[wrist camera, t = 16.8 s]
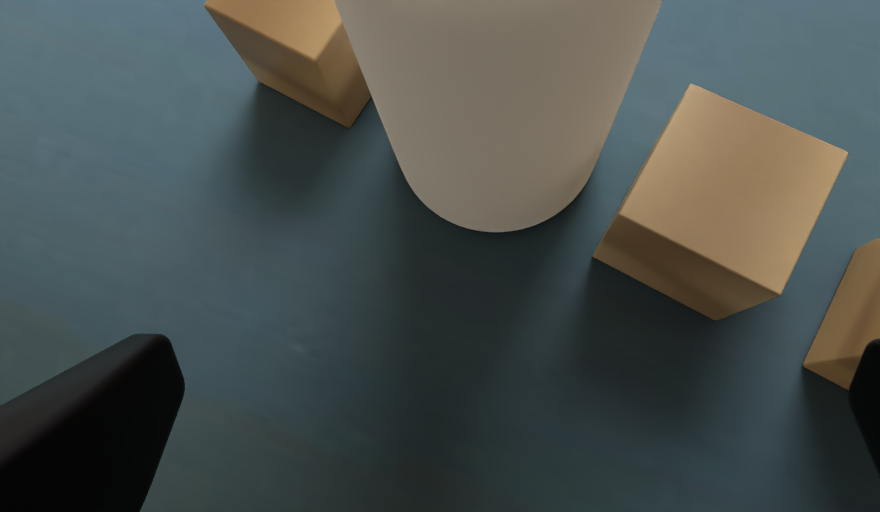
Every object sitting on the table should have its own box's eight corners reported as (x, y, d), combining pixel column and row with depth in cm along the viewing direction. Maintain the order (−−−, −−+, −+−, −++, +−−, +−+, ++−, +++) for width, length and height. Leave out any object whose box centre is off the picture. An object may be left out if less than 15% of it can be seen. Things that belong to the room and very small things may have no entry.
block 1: (411, 38, 20) (391, -49, 16) (349, 130, 20) (314, 61, 16) (318, -6, 21) (279, -98, 17) (257, 80, 20) (201, 4, 17)
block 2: (772, 208, 18) (849, 152, 14) (716, 321, 17) (781, 296, 13) (650, 150, 18) (690, 82, 15) (591, 256, 18) (618, 214, 14)
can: (421, 45, 20) (320, -443, 9) (610, 68, 19) (779, -442, 8) (379, 219, 19) (189, -89, 7) (582, 253, 18) (740, -36, 6)
